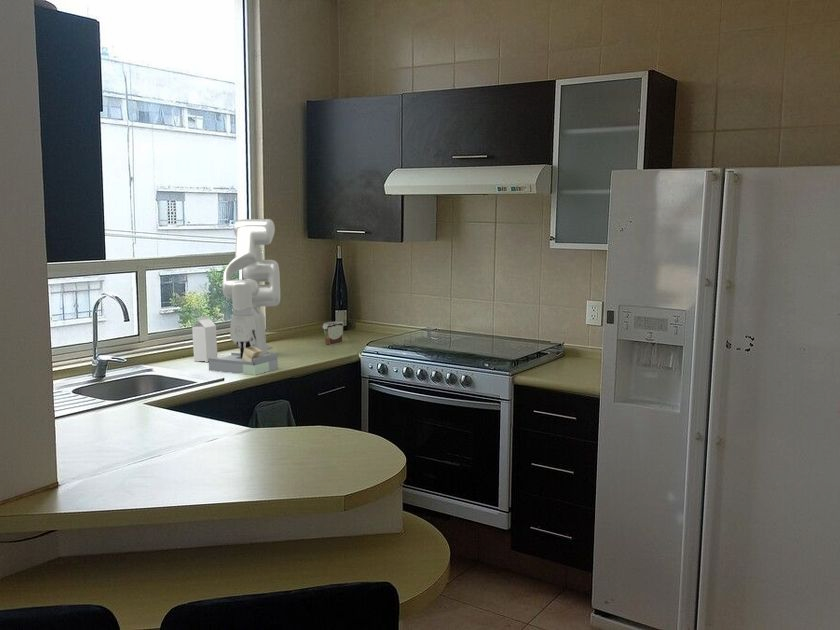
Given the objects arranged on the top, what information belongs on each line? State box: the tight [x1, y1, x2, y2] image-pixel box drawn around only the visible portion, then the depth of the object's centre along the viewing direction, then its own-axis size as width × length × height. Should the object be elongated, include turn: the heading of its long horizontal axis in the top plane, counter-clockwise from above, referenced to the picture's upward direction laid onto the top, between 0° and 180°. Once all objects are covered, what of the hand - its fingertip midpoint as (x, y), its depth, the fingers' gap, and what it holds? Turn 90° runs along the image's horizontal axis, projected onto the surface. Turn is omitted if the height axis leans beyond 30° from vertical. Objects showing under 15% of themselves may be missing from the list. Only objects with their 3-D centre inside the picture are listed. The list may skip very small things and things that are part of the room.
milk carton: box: [191, 315, 219, 363], centre depth 347 cm, size 7×7×19 cm
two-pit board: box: [208, 352, 279, 376], centre depth 326 cm, size 14×24×6 cm, turn 61°
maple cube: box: [242, 346, 262, 362], centre depth 319 cm, size 5×5×5 cm
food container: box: [322, 321, 345, 346], centre depth 386 cm, size 12×6×10 cm, turn 144°
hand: (244, 358), depth 321 cm, fingers closed
